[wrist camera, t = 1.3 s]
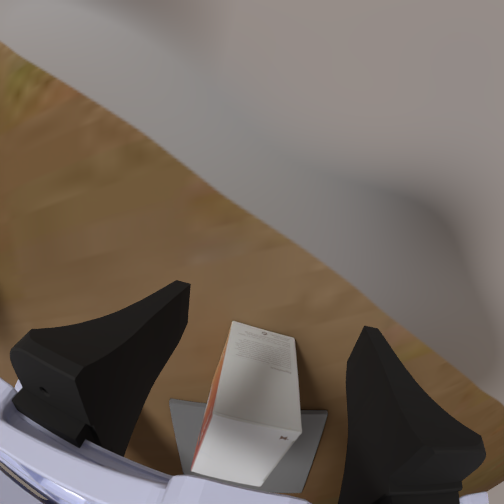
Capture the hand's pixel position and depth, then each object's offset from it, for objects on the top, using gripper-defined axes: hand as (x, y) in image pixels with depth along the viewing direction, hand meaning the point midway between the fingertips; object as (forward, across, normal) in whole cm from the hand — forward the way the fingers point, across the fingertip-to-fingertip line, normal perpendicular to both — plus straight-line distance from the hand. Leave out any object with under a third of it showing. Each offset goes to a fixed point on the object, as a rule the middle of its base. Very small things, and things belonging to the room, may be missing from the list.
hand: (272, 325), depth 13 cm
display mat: (+9, -2, +28) cm, 29 cm away
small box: (+11, +1, +13) cm, 17 cm away
